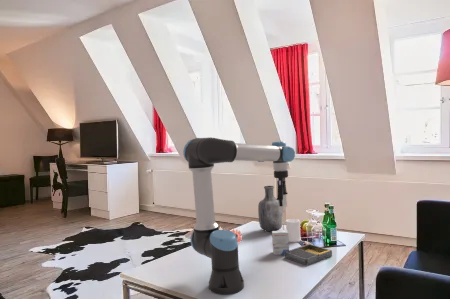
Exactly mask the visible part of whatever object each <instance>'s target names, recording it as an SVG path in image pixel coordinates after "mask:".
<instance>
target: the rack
mask: <svg viewBox="0 0 450 299" xmlns="http://www.w3.org/2000/svg"><path fill="white" fill-rule="evenodd" d="M284 253H285V254H284V258H285V259H287V260H290V261H293V262H295V263H297V264H298V263H299V264H301V265H304V266H309V265H311V264H316V263H317V262H320V261H323V260H326V259H329V258H331V257H333V250H331V249H328V248H324V247H321V246H318V245H314V244H311V243H309V244H305V245H302V246H299V247H296V248H293V249H289V251H286V252H284Z"/></svg>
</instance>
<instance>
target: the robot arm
mask: <svg viewBox="0 0 450 299" xmlns="http://www.w3.org/2000/svg"><path fill="white" fill-rule="evenodd" d="M182 152H183V157H184V160H186V161H187V162H188V170H190V171H191V172H192V183H193V196H194V205H195V206H194V208H195V221H196V223H195V224H194V226H193V230H192V234H191V235H190V245H191V247H192V249H193V250H194V251H195V252H197V253H198V254H200V255H202V256H205V257H207V258H209V259H210V260H211V272H210V277H209V281H208V289H209V291H210V290H211V291H210V292H212V293H213V292H214V293H213V294H216V295H233V294H236V293H238V292H241V291H242V290H243V289H244V287H245V282H244V277H243V275H242V273H241V272H242V271H241V270H240V265H239V264H240V262H239V246H238V245H239V243H238V237H237V234H236V233H235V232H233V231H231V230H228V229H220V227H219V226H220V225H219V224H218V223H217V222H216V216H215V203H214V192H213V191H214V190H213V181H212V180H213V178H212V177H213V176H212V170H213V168H214V167H215V164H223V163H233V162H234V161H251V162H252V161H253V162H254V161H255V162H259V163H263V162H264V163H265V162H272V165H273V166H272V167H273V169H272V170H273V178H274V179H278V180H277V181H276V182H277V197H276V199H277V200H278V204H279V212H283V213H285V208H286V207H288V201H287V195H288V192H287V185H286V178H288V177H289V171H288V166H289V163H290V162H292V161H293V160H294V159H295V157H296V151H295V149H294V148H293V147H292V146H288V145H287V143H286V142H285V141H283V140H282V141H272V143H271V145H267V144H253V143H236V142H235V141H234V140H231V139H230V140H228V139H221V138H215V137H195V138H192V139H190V140H188V141H186V143H185V145H184V147H183V149H182ZM288 162H289V163H288Z"/></svg>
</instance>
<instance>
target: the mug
mask: <svg viewBox="0 0 450 299" xmlns="http://www.w3.org/2000/svg"><path fill="white" fill-rule="evenodd" d="M300 224H301V223H300V219H298V218H289V219H286V220H285V221H284V222H283V224H282V231H288V239H289V243H299V242H301V241H302V238H301V225H300ZM285 225H286V229H285Z"/></svg>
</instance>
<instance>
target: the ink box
mask: <svg viewBox="0 0 450 299" xmlns="http://www.w3.org/2000/svg"><path fill="white" fill-rule="evenodd" d="M271 238H272V240H271V241H272V251H273V252H272V254H273V255H274V256H276V255H278V256H279V255H285V253H284V252H286V251H289V250H290V242H289V239H288V231H287V230H285V231H284V230H278V231H272V232H271Z"/></svg>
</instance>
